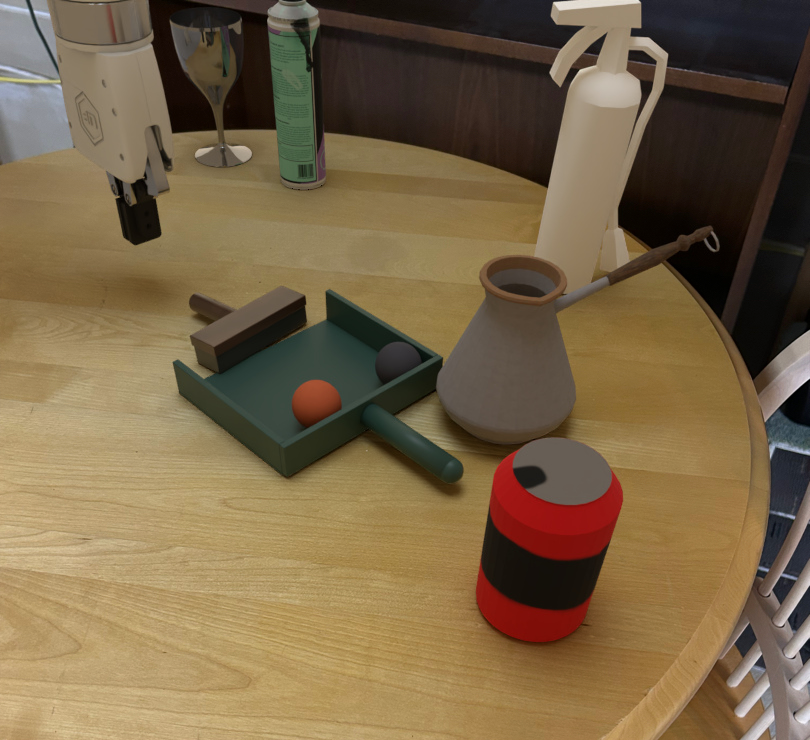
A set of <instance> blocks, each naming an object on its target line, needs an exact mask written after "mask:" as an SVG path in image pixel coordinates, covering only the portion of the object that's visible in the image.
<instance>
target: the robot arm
mask: <svg viewBox="0 0 810 740" xmlns="http://www.w3.org/2000/svg"><path fill="white" fill-rule="evenodd" d="M46 4H47V8H48V12H49V16H50V21H51V25H52V29H53V35H54V40H55V50H56V51H55V52H56V60H57V61H56V62H57V68H58V75H59V80H60V81H59V82H60V88H61V92H62V99H63V103H64V108H65V113H66V119H67V124H68V128H69V132H70V137H71V141H72V145H73V146H74V148H75V149H76V151H77V152H79V154H80V155H82V156H84V157H85V158H86V159H88V160H89V161H91V162H92V163H93V164H95V165H96V166H98V167H99V168H101V169H102V170H104V171H105V173H106V177H107V180H108V185H109V187H110V191H111V193H112V194H113V196H114V197H116V198H114V199H115V204H116V209H117V214H118V218H119V223H120V230H121V234H122V238H123V239H125V240H126V241H127V242H129V243H130V244H132V245H133V246H139V245H142V244H144V243H147V242H151V241H153V240H156V239H159V238H160V237H162V235H163V234H162V232H163V231H162V227H161V220H160V215H159V209H158V208H159V207H158V203H157V199H158V198H159V197H160V196H163V195H166V194H169V193H171V187H170V184H169V180H168V177H167V176H168V175H167V173H171V172H172V171H174V169H175V164H176V157H175V156H176V155H175V154H176V153H175V146H174V137H173V130H172V125H171V119H170V114H169V109H168V104H167V99H166V95H165V90H164V89H165V88H164V85H163V81H162V77H161V73H160V69H159V65H158V61H157V58H156V54H155V50H154V47H153V44H152V42H153V41H154V37H155V36H154V29H153V22H152V16H151V10H150V4H149V0H46Z"/></svg>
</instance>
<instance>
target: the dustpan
mask: <svg viewBox="0 0 810 740" xmlns="http://www.w3.org/2000/svg"><path fill="white" fill-rule="evenodd" d="M324 294H325V295H324V296H325V310H326V311H325V312H326V313H325V316H326V317H325V318H326V319H324V320H322V321H320V322H318V323H315V324H314V325H311V326H310V327H308V328H305V329H303V330H302V331H299V332H297V333H295V334H292V335H290V336H289V337H287V338H285V339H283V340H281V341H279V342H277V343H274V344H271V345H269V346H267V348H266V347H265V348H263V349H261V350H260V351H258V352H256V353H255V354H253V355H251V356H250V357H248V358H246V359H244V360H243V361H241V362H239V363H238V364H236V365H234V366H233V367H231V368H229V369H228V370H226V371H224V372H223V373H221V374H219V373H217V372H215V373H212V374H211V375H209V376H206V377H204V378H203V376H201V375H199V374H198V372H195V370H193V369H192V368H191V367H189V366H188V365H186V364H185V363H184V362H183V361H181V360H180V359H176V360H173V361H172V367H173V372H174V375H175V376H174V377H175V381H176V385H177V390H178V394H180V395H181V397H183V398H184V399H186V400H187V401H188V402H189V403H191V404H192V405H193V406H194V407H196V408H197V409H198V410H200V411H201V412H202V413H203V414H204V415H205V416H207V417H208V418H209V419H211V420H212V421H213V422H215V424H217V425H218V426H219V427H221V428H222V429H223V430H224V431H226V432H227V433H228V434H230V435H231V436H232V437H233V438H234V439H236V440H237V441H238V442H240V443H241V444H242V445H243V446H244V447H246V448H247V449H248V450H250V452H252V453H253V454H255V455H256V456H257V457H258V458H259V459H261V460H262V461H264V463H266V464H267V465H268V466H269V467H271V468H272V469H273V470H275V472H278V474H279V475H281V476H284V477H286V478H289V477H290V476H292V475H294V474H295V473H297V472H299V471H300V470H302V469H303V468H305V467H307V466H309V465H310V464H312V463H314V462H316V461H317V460H319V459H320V458H323V457H324V456H325V455H327V454H329V453H330V452H332V451H334V450H336V449H338V448H339V447H341V446H342V445H344V444H345V443H347V442H349V441H351V440H352V439H354V438H356V437H357V436H359V435H360V434H363V433H364V432H366V431H370V432H372V433H373V434H374V435H376V436H377V437H378V438H380V439H382V440H383V441H385V442H386V443H387V444H388V445H390V446H392V447H393V448H395V450H397V451H399V452H400V453H402V454H403V455H404V456H406V457H407V458H409V459H410V460H412V461H413V462H414V463H415V464H417V465H419V466H420V467H421V468H423V469H425V470H426V471H428V472H429V473H430V474H431V475H433V476H434V477H436V478H437V479H439V480H440V481H442V482H443V483H445V484H450V485H452V484H456V483H458V482H459V481H460V480H461V479H462V478H463V476H464V473H465V470H464V469H465V468H464V465H463V462H461V460H460V459H458V458H457V457H455V456H454V455H452V454H451V453H449V452H447V451H446V450H445V449H444V448H442V447H440V446H439V445H437V444H436V443H434V442H433V441H432V440H430V439H429V438H427V437H426V436H424V435H422V434H421V433H419V432H418V431H417V430H416V429H414V428H413V427H411V426H409V425H408V424H406V423H405V422H404V421H401V420H400V419H399V418H397V417H396V416H394V415H395V414H396V413H398V412H399V411H401V410H403V409H404V408H406V407H408V406H409V405H411V404H413V403H414V402H416V401H418V400H420V399H422V398H423V397H425V396H427V395H429V393H432V392H434V391H435V390H437V389H436V384H437V377H438V373H439V372H440V370H441V368H442V367H443V365H444V357H443V356H442V355H441V354H438V353H437V352H435V351H434V350H432V349H430V348H428V347H427V346H426V345H424V344H422V343H421V342H419V341H417V340H415V339H414V338H412V337H411V336H409V335H407V334H406V333H404V332H402V331H400V330H399V329H397V328H396V327H394V326H393V325H391V324H389V323H388V322H385V321H384V320H382V319H381V318H379V317H377V316H375V315H374V314H372V313H371V312H369V311H367V310H366V309H364V308H363V307H361V306H359V305H357V304H356V303H354V302H353V301H351V300H349V299H348V298H345V297H344V296H342V294H340V293H337V292H336V291H334V290H333V289H331V288H328V289H327V290H325V292H324ZM393 342H404V343H407V344H409V345H411V346H412V347H414V348H415V349H416V351H417V352H418V353H419V355H420V357H421V361H422V364H421V365H419V366H417V367H415V368H414V369H412V370H410V371H408V372H407V373H405V374H403V375H401V376H399V377H398V378H396V379H394V380H392V381H391V382H389V383H387V384H385V385H384V384H383V383H382V382H381V381H380V380H379V378H378V376H377V374H376V370H375V361H376V358H377V355H378V353H379V352H380V351H381V349H382V348H383V347H385V346H386V345H388V344H390V343H393ZM311 380H322V381H325V382H328V383H329V384H331V385H332V386H333V387H334V388H335V389H336V390H337V391H338V393H339V395H340V398H341V402H342V409H341V410H339V411H338V412H336V413H334V414H332V415H331V416H329V417H327V418H325V419H323V420H322V421H320V422H318V423H316V424H315V425H313V426H311V427H309V428H306V427H304V426H303V425H301V424H300V423H299V422H298V421H297V419H296V418H295V416H294V414H293V411H292V398H293V395H294V393H295V391H296V390H297V389H298V387H299V386H301V385H302V384H303V383H305V382H307V381H311Z"/></svg>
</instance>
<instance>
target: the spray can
mask: <svg viewBox="0 0 810 740" xmlns="http://www.w3.org/2000/svg"><path fill="white" fill-rule="evenodd" d="M267 16H268V17H267V34H268V45H269V57H270V69H271V81H272V92H273V94H272V95H273V105H274V117H275V127H276V142H277V154H278V162H279V163H278V165H279V177H280V182H281V184H282V185H283V186H284V187H286V188H289V189H292V188H293V189H292V190H298V189H300V190H299V191H307V190H308V189H309V190H314V189H317V188H320V187H321V185H322V186H324V184H326V181H327V169H326V167H327V165H326V145H325V141H326V140H325V116H324V94H323V92H324V91H323V69H322V67H323V66H322V43H321V21H320V20H321V19H320V18H319V10H318V9H317V8H315V7H314V6H312V5H311V4H310V3H308V2H307V0H278V2H277V3H276V4H274V5H273V6H271V7H269V9H268V10H267ZM309 190H308V191H309Z"/></svg>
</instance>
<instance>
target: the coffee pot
mask: <svg viewBox="0 0 810 740" xmlns="http://www.w3.org/2000/svg"><path fill="white" fill-rule="evenodd" d="M710 235H711V236H712V237H713V239H714V241H715V246H716V249H714V248H713V247H712V246H711V245H710V244H709V241H708V239H707V238H708V237H709V236H710ZM702 241H703V242H704V245H706V247H707V248H708V249H709V251H710V252H713V253H717V252H719V251H720V241H719V238H718V236H717V235H716V233H715V232H714V227H713V226H712V225H707V226H703V227H700V228H697V229H696V230H694V232H693V233H691V234H689V235H685V234H680V235H679V236H678V237H677V239H676V241H673V242H670V243H667V244H663V245H660V246H658V247H655V248H651V249H650V250H648V251H646V252H644V253H642V254H641V255H639V256H638V257H635V258H634V259H632V260H630V262H628V263H627V264H625V265H623V266H621V267H619V268H618V269H616V270H614V271H612V272H609V273H607V274H605V275H604V276H603V277H601V278H599V279H597V280H595V281H593V282H592V281H591V283H590V284H588V285H586V286H584V287H582V288H579V289H577V290H575V291H573V292H571V293H569V294H563V293H564V291H565V289H566V287H567V277H566V275H565V274H564V272H563V271H562V270H561V269H560V268H559V267H558V266H557V265H555V264H553V263H551V262H550V261H547V260H544V259H541V258H538V257H534V255H528V254H507V255H502V256H497V257H494V258H492V259H489V260H488V261H487V262H486V263H484V264H483V266H482V267H481V269H480V271H479V275H478V279H479V281H480V284H481V286H482V287H483V289H484V294H485V297H484V299H483V300H482V302H481V304H480V305H479V307H478V308H477V310H476V312H475V313H474V315H473V316H472V318H471V320H470V321H469V323H468V325H467V326H466V328H465V329H464V331H463V333H462V335H461V336H460V338H459V339H458V341H457V342H456V344H455V345H454V347H453V349H452V350H451V352H450V354H449V356H448V357H447V359H446V360H445V362H443V367H442V368H441V370H440V372H439V373H438V377H437V384H436V389H435V390H436V393H437V396H438V399H439V402H440V404H441V407H442V408H443V410H444V411H445V413H446V414H447V416H448V417H449V418H450V420H452V421H453V422H454V423H456V424H457V425H458V426H459V427H461V428H462V429H464V431H466V432H467V433H468V434H470V435H471V436H473V437H475V438H476V439H479V440H481V441H484V442H488V443H492V444H496V445H497V444H498V445H506V446H507V445H519V444H523V443H527V442H531V441H533V440H534V439H535V440H536V439H539V438H541V437H543V436H545V435H547V434H549V433H550V432H553V431H555V430H557V428H558V427H559V426H560V425H561V424H562V423H563V422H564V421H565V420H566V419H567V418H568V417H569V416H570V414H572V411H573V409H574V407H575V404H576V401H577V389H576V383H575V379H574V375H573V371H572V367H571V363H570V361H569V360H570V359H569V356H568V353H567V349H566V344H565V341H564V337H563V334H562V330H561V326H560V323H559V319H558V315H557V314H558V313H560V312H562V311H564V310H566V309H567V308H569V307H571V306H573V305H575V304H577V303H579V302H581V301H582V300H585V299H586V298H588V297H590V296H592V295H595V293H598V292H600V291H602V290H604V289H605V288H607V287H611V286H613V285H616V284H618V283H620V282H623V281H625V280H627V279H629V278H632V277H634V276H637V275H639V274H641V273H644V272H646V271H648V270H650V269H653V268H655V267H657V266H660V265H661V264H662V263H664V262H665V261H666V260H668V259H669V258H671V257H672V256H674V255H675V254H677V253H678V252H680V251H681V252H687V251H689V249H690V247H691V245H693V244H695V243H697V242H702ZM561 295H563V296H561Z"/></svg>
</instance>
